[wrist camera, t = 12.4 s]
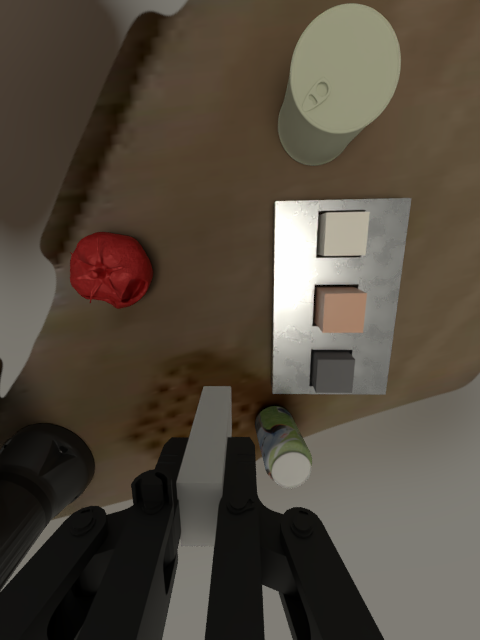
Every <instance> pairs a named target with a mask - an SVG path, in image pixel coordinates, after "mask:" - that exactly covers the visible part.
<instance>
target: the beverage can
mask: <svg viewBox="0 0 480 640" xmlns="http://www.w3.org/2000/svg"><path fill="white" fill-rule="evenodd" d="M255 429H256V433H257V437H258V441H259V445H260V449H261V453H262V457H263V461H264V465H265V469H266V471H267V474H268V475H269V476H270V478H271V479H272V480H274V481H275V482H276V483H277V484H278V485H279V486H281V487H284V488H295V487H298V486H300V485H302V484H303V483H304V482H306V480H307V479H308V478H309V476H310V473H311V466H312V457H311V454H310V451H309V449H308V447H307V445H306V443H305V441H304V439H303V437H302V436H301V434H300V432H299V430H298V428H297V426H296V424H295V422H294V420H293V418H292V416H291V414H290V413H289V412H288V411H287V410H286V409H285V408H282V407H279V406H271V407H268V408H266V409H264V410H262V411H261V412H260V413H259V415H258V416H257V418H256V421H255Z"/></svg>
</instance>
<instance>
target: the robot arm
mask: <svg viewBox="0 0 480 640" xmlns="http://www.w3.org/2000/svg"><path fill="white" fill-rule="evenodd" d="M231 432H232V417H231V386H204V387H203V391H202V394H201V398H200V401H199V405H198V408H197V412H196V415H195V419H194V422H193V426H192V429H191V433H190V436H189V438H175V437H172V438H171V439H170V440H169V441H168V442H167V443H166V444H165V445H164V447H163V449H162V452H161V455H160V457H159V459H158V463H157V464H156V467H155V469H154V470H149V471H146V472H144V473H142V474H140V475H139V476H138V477H136V478H135V479H134V481H133V482H132V484H131V488H132V496H133V503H134V505H133V506H131V507H130V508H128V509H125V510H122V511H119V512H115V513H112V514H108V515H106V513H105V510H104V509H102V508H101V507H99V506H89V507H85V508H82V509H80V510H78V511H76V512H75V513H73V514H72V515H71V516H70V517H69V518H68V519H66V520H65V521H64V522H63V524H62V525H61V526H60V527H59V528H58V529H57V530H56V531H55V532H54V534H53V535H52V536H51V537H50V538H49V539H48V540H47V541H46V542H45V544H44V545H43V546H42V547H41V548H40V549H39V550H38V551H37V552H36V553H35V555H34V556H33V557H32V558H31V559H30V560H29V561H28V562H27V563H26V565H25V566H24V567H23V568H22V569H21V570H20V571H19V572H18V574H16V576H15V577H14V578H13V579H12V580H11V581H10V582H9V583H8V584H7V586H6V587H5V588H4V589H3V590H2V591H1V589H2V588H3V586H4V585H5V584H6V582H7V581H8V579H9V578H10V577H11V575H12V574H13V572H14V571H15V569H16V568H17V567H18V565H19V564H20V562H21V561H22V559H23V558H24V557H25V555H26V554H27V552H28V551H29V550H30V548H31V547H32V545H33V544H34V543H35V541H36V540H37V538H38V537H39V536H40V534H41V533H42V531H43V530H44V528H45V527H46V526H47V524H48V523H49V522H50V520H51V519H52V518H54V517H55V516H56V515H57V514H58V513H60V512H61V511H62V510H63V509H64V508H65V507H66V506H67V505H68V504H70V503H71V502H73V501H75V500H76V499H77V498H78V497H79V496H80V495H81V494H82V493H83V492H84V490H85V489H86V487H87V486H88V484H89V483H90V481H91V480H92V477H93V474H94V460H93V457H92V454H91V452H90V450H89V449H88V447H87V446H86V444H85V443H84V442H83V441H82V440H81V439H80V438H79V437H78V436H76V435H75V434H73V433H72V432H70V431H69V430H67V429H64V428H62V427H59V426H56V425H51V424H34V425H30V426H27V427H25V428H23V429H21V430H20V431H18V432H17V433H16V434H15V435H13V436H12V437H11V438H10V439H9V440H8V441H7V442H6V443H5V444H4V445H3V447H2V448H1V450H0V591H1V592H0V640H162V637H163V632H164V627H165V622H166V617H167V613H168V608H169V603H170V598H171V593H172V588H173V584H174V579H175V574H176V569H177V564H178V554H177V549H178V544H179V539H181V546H214V555H213V565H212V575H211V584H210V594H209V604H208V614H207V623H206V632H205V640H265V639H264V619H263V618H264V617H263V596H262V585H265V586H267V587H269V588H272V589H274V590H276V591H279V595H280V598H281V602H282V605H283V608H284V611H285V615H286V618H287V621H288V625H289V628H290V631H291V635H292V638H293V640H384V638H383V636H382V634H381V633H380V631H379V629H378V627H377V625H376V623H375V621H374V619H373V617H372V616H371V614H370V612H369V610H368V608H367V606H366V605H365V602H364V601H363V599H362V597H361V595H360V593H359V591H358V589H357V587H356V585H355V584H354V582H353V580H352V578H351V576H350V574H349V572H348V570H347V569H346V567H345V565H344V563H343V561H342V559H341V557H340V555H339V554H338V552H337V550H336V548H335V546H334V544H333V542H332V540H331V539H330V537H329V535H328V533H327V531H326V529H325V527H324V525H323V523H322V522H321V520H320V519H319V518H318V516H317V515H316V514H315V513H313V512H312V511H310V510H308V509H305V508H302V507H293V508H291V509H289V510H287V511H286V512H285V513H284V514H280V513H277V512H274V511H272V510H270V509H268V508H266V507H265V506H264V505H263V504H262V503H261V501H260V500H259V498H258V495H257V485H256V464H255V445H254V443H253V442H252V440H251V439H250V437H231Z"/></svg>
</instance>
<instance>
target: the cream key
mask: <svg viewBox="0 0 480 640" xmlns="http://www.w3.org/2000/svg"><path fill="white" fill-rule="evenodd" d="M369 214H370V212H330V213H324V214H321V215H318V228H317V248H316V254H318V255H322V256H352V255H366V245H367V235H368V224H369Z"/></svg>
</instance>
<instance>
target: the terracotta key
mask: <svg viewBox="0 0 480 640" xmlns="http://www.w3.org/2000/svg"><path fill="white" fill-rule="evenodd" d="M366 299H367V293H366V292H363V291H361V290H359V289H357V288H355V287H353V286H339V287H316V296H315V314H314V322H315V323H316V325H317V326H318V327H319V329H320V330H321V331H322V333H363V328H364V318H365V309H366Z"/></svg>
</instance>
